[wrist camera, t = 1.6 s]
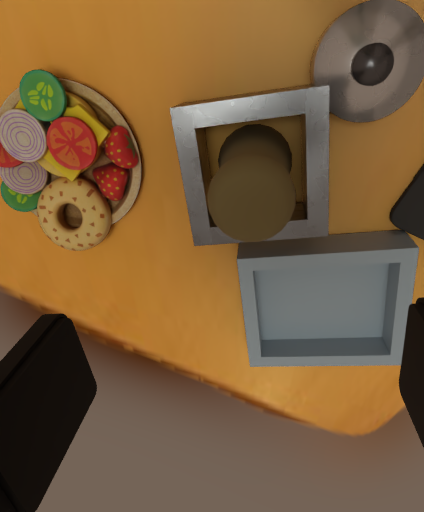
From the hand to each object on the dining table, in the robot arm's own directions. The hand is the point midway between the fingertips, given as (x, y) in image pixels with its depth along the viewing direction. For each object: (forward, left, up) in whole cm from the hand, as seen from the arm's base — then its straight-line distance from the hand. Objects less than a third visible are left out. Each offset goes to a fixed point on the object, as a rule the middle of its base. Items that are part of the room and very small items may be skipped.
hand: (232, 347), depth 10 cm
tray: (-5, +13, -22) cm, 26 cm away
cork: (0, 0, -22) cm, 22 cm away
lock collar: (-3, -2, -22) cm, 22 cm away
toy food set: (+16, -2, -23) cm, 28 cm away
